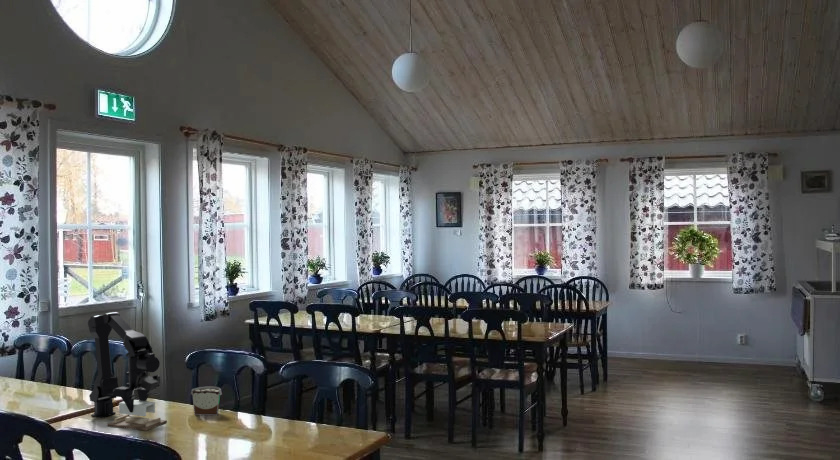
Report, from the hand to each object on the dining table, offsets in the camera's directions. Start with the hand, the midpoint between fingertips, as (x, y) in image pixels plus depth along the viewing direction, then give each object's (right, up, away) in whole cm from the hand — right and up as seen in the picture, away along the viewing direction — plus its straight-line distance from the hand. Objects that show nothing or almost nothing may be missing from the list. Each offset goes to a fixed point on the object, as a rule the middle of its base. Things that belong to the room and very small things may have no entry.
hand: (137, 410), depth 259 cm
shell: (0, -1, 0) cm, 1 cm away
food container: (+22, -5, +15) cm, 28 cm away
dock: (0, -5, 0) cm, 5 cm away
